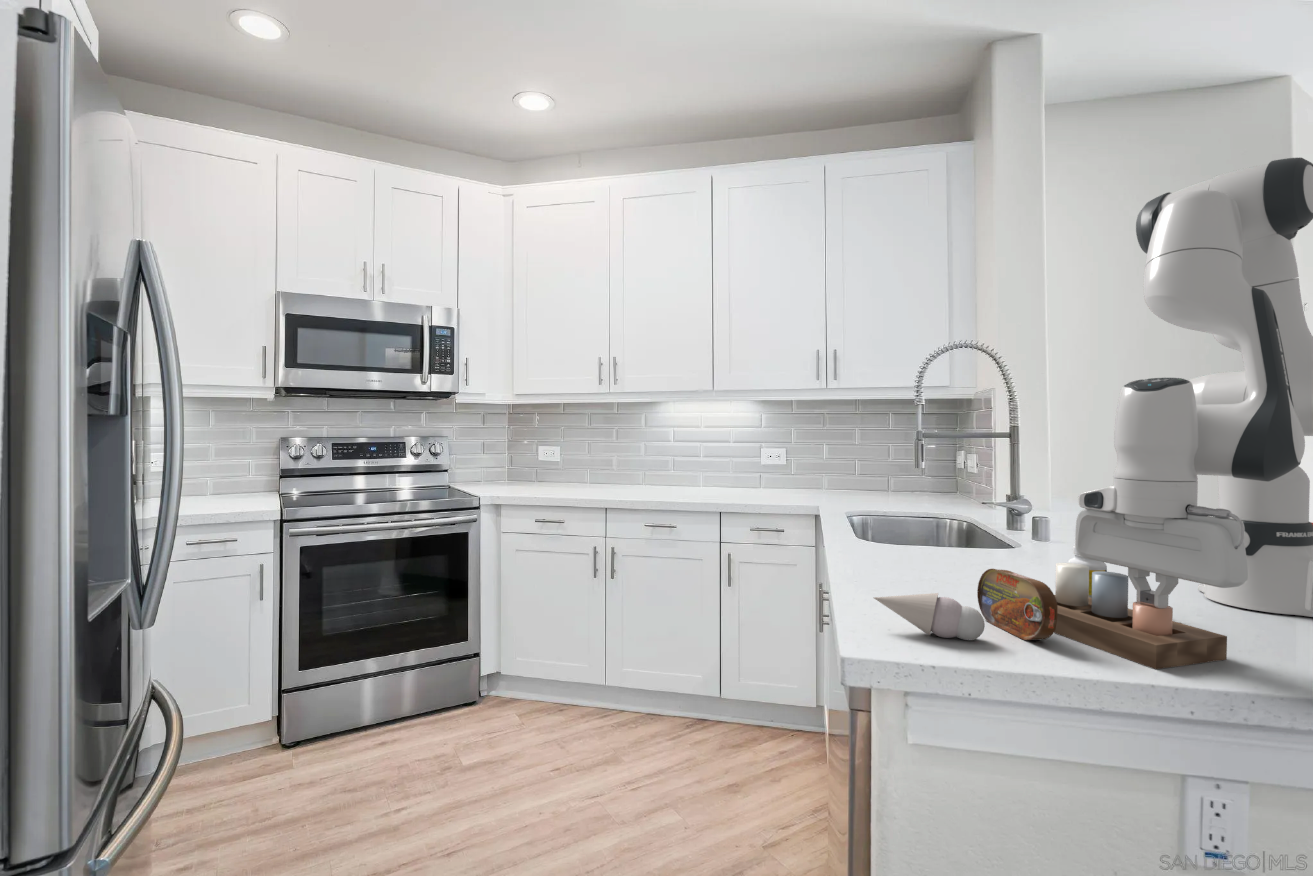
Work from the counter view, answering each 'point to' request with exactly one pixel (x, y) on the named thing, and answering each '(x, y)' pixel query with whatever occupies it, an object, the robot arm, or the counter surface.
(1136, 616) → the salmon pink cylinder
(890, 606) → the ice cream cone
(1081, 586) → the key ivory
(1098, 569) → the supplement bottle
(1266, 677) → the counter surface
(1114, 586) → the key slate
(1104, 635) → the wooden spice rack
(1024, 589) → the tin
